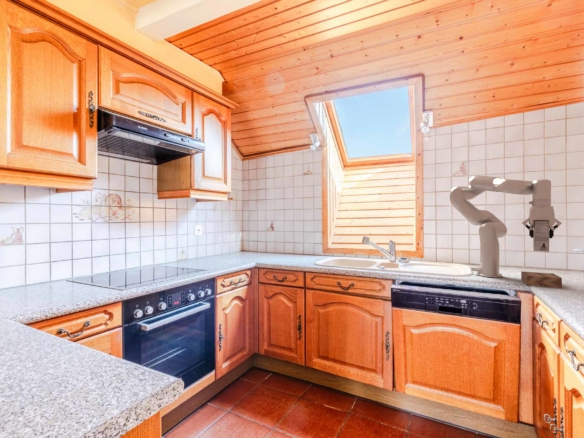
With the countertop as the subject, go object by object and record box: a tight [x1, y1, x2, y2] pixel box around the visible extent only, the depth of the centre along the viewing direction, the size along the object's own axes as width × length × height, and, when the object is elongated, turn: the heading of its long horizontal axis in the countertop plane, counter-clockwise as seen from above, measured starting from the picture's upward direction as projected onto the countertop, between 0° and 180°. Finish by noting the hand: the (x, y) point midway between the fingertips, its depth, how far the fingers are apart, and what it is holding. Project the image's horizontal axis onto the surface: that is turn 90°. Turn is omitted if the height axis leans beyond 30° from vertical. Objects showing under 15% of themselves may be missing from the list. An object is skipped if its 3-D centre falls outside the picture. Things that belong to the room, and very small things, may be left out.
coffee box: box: [532, 220, 550, 253], centre depth 160 cm, size 9×6×16 cm
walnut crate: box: [520, 270, 563, 289], centre depth 160 cm, size 14×13×5 cm
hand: (541, 237), depth 160 cm, fingers closed on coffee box, 7 cm apart
